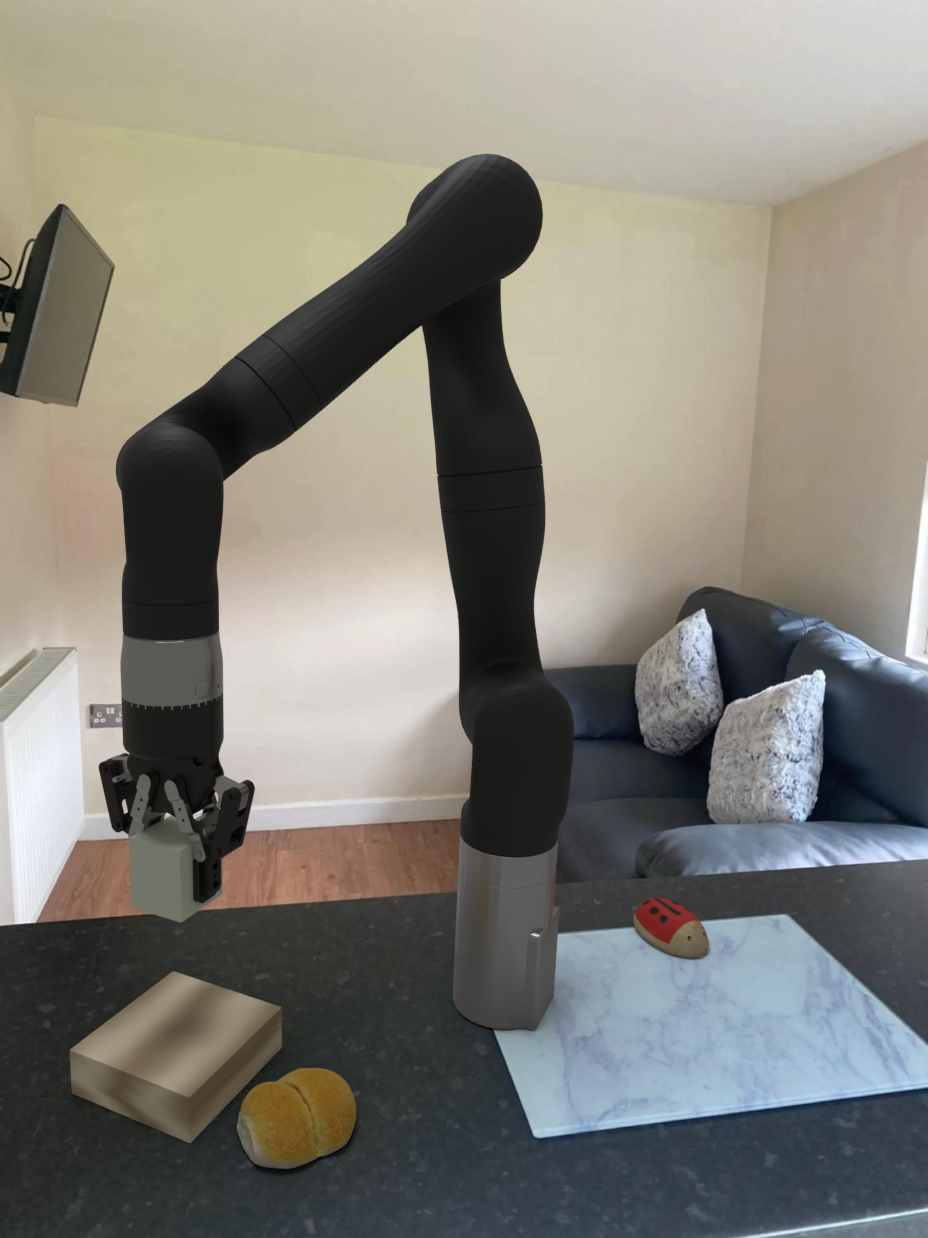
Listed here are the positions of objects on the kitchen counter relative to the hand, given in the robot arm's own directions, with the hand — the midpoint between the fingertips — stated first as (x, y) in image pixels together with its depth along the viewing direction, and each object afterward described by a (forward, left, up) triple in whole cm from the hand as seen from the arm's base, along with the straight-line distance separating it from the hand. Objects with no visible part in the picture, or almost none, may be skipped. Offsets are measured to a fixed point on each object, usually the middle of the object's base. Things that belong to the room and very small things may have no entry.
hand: (177, 889), depth 71 cm
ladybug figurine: (-34, -40, -17) cm, 55 cm away
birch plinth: (0, 0, -17) cm, 17 cm away
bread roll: (-12, +1, -17) cm, 21 cm away
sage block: (0, 0, -1) cm, 1 cm away
